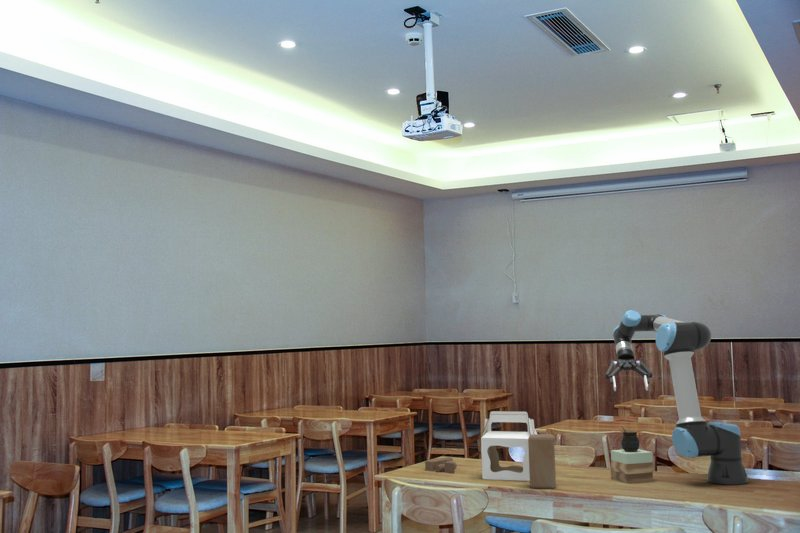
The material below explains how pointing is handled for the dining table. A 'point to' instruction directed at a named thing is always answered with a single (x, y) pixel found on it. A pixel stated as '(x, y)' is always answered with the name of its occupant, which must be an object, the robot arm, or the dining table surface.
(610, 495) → the dining table surface
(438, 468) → the wooden block set
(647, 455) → the slab top
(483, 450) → the gable box
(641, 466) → the slab middle
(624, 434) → the mate gourd
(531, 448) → the block
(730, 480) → the robot arm
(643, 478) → the slab bottom
